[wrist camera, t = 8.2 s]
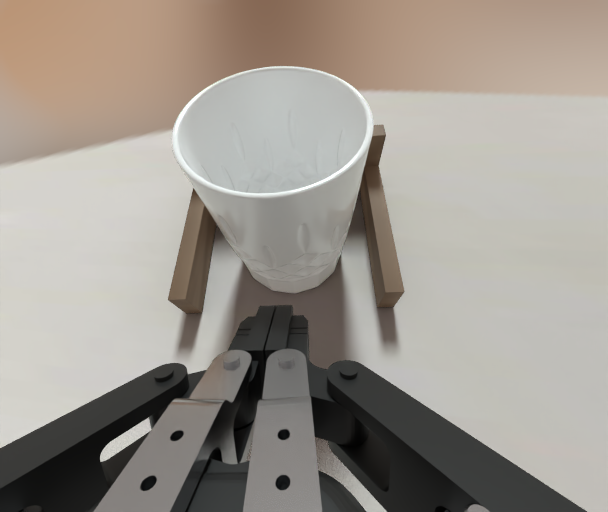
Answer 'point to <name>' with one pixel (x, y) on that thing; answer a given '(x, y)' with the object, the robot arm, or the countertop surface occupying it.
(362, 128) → the white cup
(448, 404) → the countertop surface
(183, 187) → the countertop surface
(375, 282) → the walnut bay
